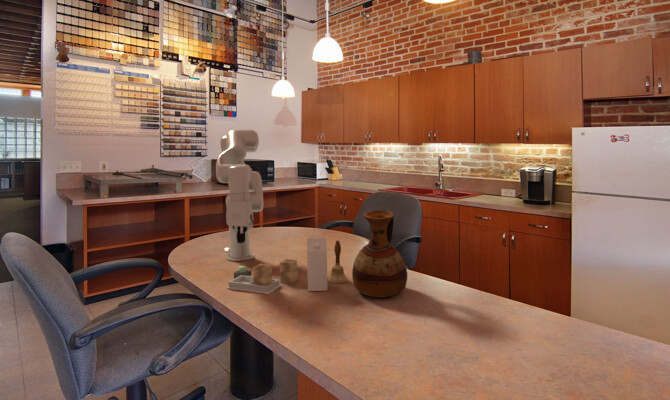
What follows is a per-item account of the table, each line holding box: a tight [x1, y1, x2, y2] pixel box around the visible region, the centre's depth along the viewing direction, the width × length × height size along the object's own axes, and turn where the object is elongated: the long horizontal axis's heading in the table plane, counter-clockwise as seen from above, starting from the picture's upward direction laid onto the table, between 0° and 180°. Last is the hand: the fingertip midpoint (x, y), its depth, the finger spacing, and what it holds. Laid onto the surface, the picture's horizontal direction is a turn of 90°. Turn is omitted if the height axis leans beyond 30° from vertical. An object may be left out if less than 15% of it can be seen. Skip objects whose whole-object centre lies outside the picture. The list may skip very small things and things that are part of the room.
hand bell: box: [327, 240, 349, 284], centre depth 156 cm, size 8×8×16 cm
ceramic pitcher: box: [351, 209, 408, 298], centre depth 141 cm, size 20×20×30 cm
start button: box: [238, 265, 247, 273], centre depth 160 cm, size 3×3×4 cm
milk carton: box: [306, 237, 328, 292], centre depth 147 cm, size 7×7×19 cm
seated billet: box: [252, 263, 273, 286], centre depth 148 cm, size 5×5×8 cm
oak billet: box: [279, 258, 298, 284], centre depth 156 cm, size 5×5×8 cm
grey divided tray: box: [226, 275, 282, 295], centre depth 149 cm, size 18×9×3 cm, turn 69°
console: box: [233, 269, 253, 279], centre depth 160 cm, size 5×5×3 cm
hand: (241, 242), depth 159 cm, fingers closed
